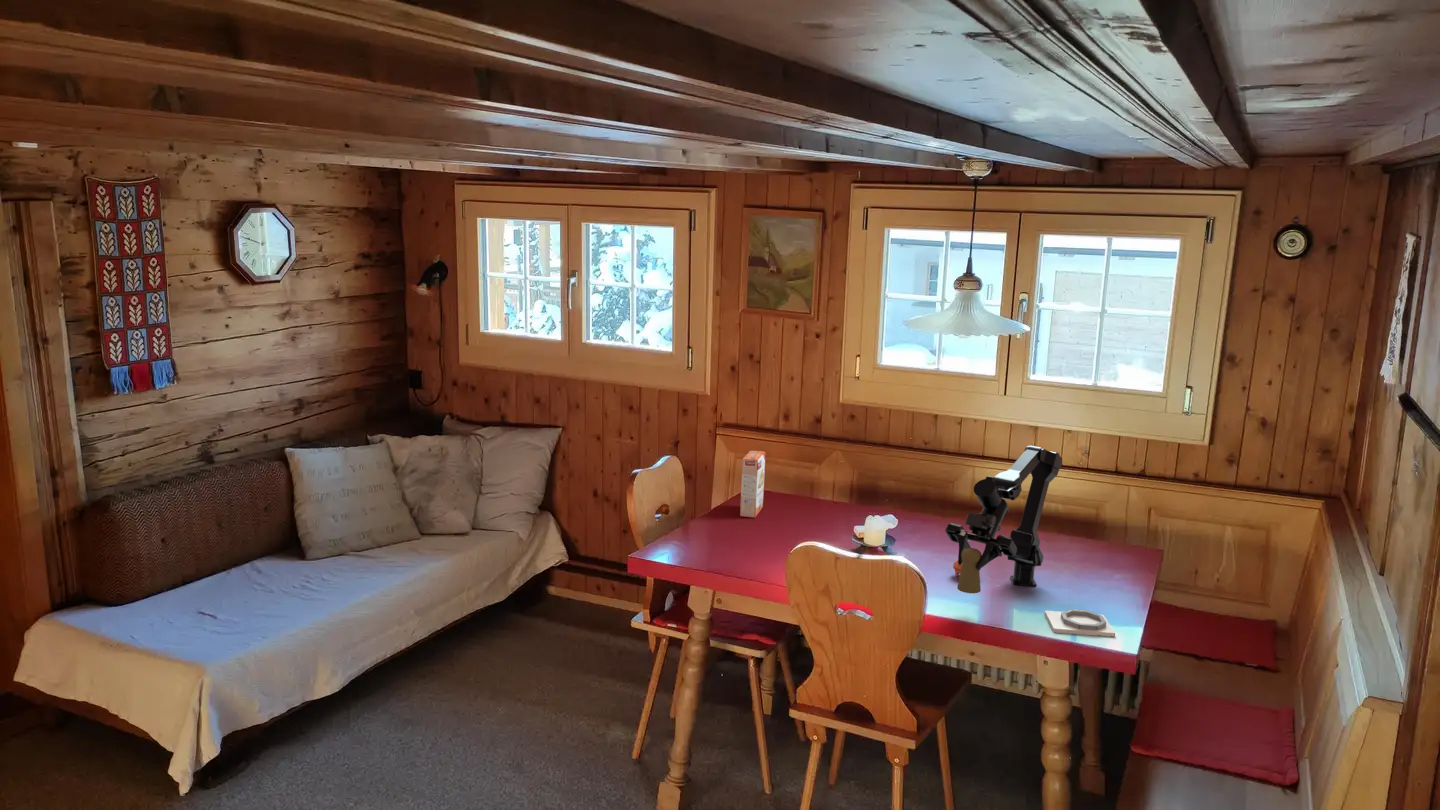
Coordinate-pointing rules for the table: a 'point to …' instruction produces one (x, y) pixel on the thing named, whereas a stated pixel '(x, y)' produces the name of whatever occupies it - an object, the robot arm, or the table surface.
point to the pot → (958, 568)
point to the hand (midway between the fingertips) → (968, 566)
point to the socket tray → (1079, 622)
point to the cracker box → (752, 484)
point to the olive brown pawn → (970, 571)
